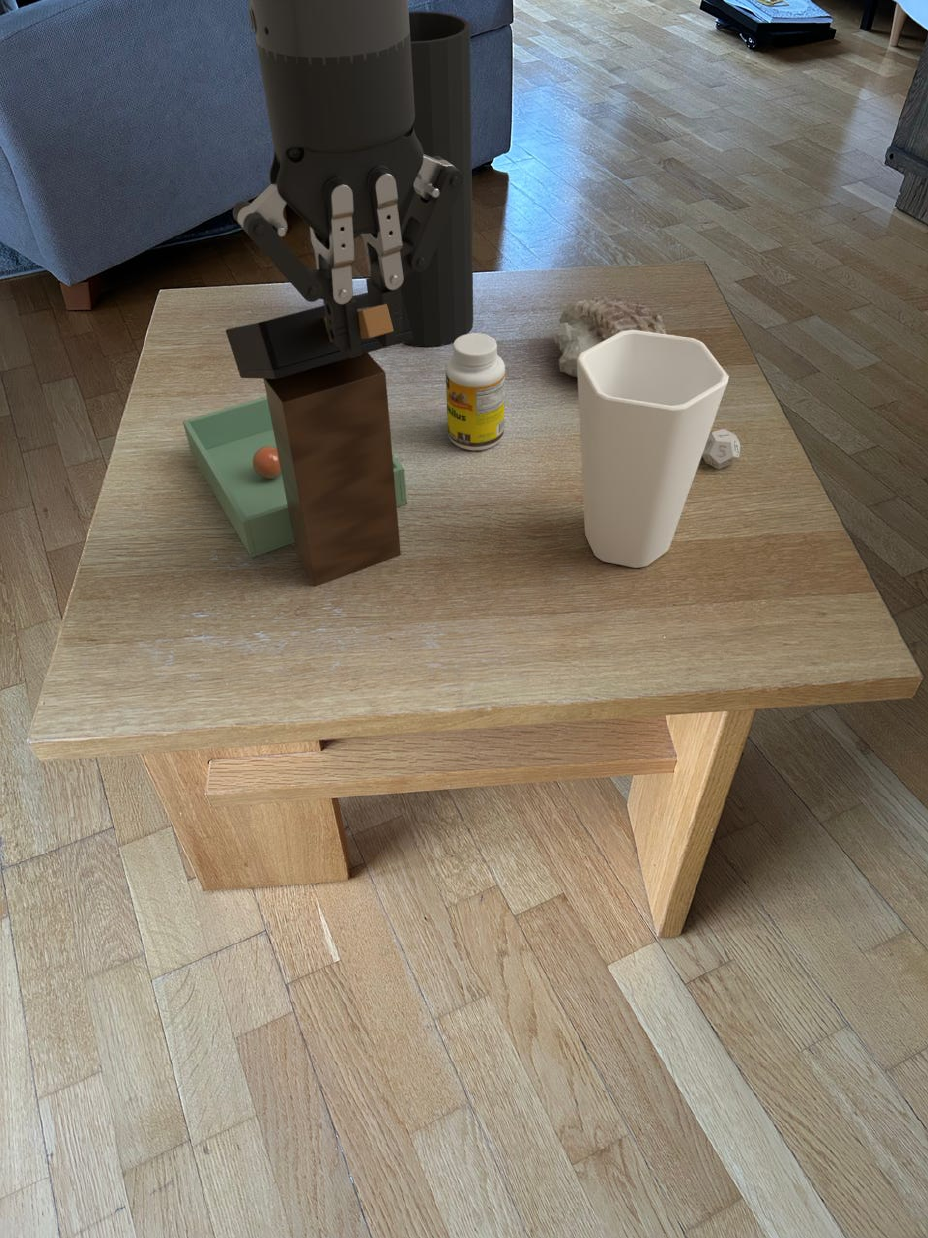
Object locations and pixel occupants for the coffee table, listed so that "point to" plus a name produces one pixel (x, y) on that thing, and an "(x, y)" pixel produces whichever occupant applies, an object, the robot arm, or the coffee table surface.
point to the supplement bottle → (475, 393)
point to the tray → (249, 473)
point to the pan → (305, 340)
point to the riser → (337, 465)
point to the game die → (721, 449)
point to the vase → (445, 131)
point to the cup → (642, 438)
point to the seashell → (599, 326)
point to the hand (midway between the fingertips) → (367, 344)
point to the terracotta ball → (267, 462)
